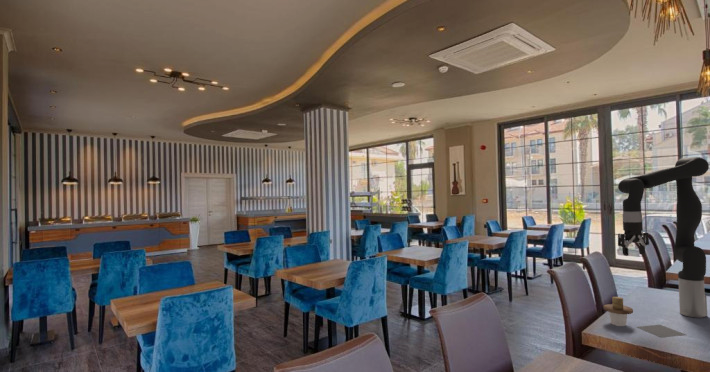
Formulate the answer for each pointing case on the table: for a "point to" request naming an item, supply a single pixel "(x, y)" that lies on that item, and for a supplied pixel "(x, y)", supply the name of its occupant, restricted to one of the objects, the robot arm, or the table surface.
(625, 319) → the white short cylinder
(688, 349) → the table surface
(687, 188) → the robot arm
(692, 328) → the table surface
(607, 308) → the walnut lid
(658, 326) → the rubber mat
